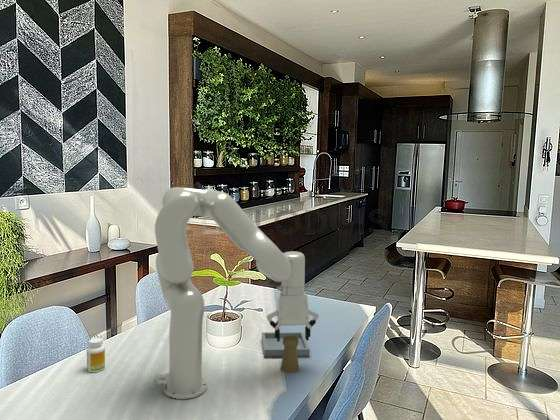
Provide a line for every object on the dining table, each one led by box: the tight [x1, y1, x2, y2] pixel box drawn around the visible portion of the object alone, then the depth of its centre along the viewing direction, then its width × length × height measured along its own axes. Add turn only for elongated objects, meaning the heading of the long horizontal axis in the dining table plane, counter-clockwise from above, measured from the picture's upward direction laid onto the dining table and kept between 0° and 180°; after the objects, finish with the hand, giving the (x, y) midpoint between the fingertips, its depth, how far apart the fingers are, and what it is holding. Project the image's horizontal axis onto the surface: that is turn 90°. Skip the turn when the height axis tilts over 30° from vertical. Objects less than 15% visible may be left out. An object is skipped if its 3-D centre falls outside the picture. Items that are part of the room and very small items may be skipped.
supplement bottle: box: [86, 337, 106, 373], centre depth 143 cm, size 5×5×10 cm
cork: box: [280, 335, 300, 374], centre depth 148 cm, size 6×6×11 cm
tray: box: [261, 331, 311, 359], centre depth 164 cm, size 16×16×3 cm
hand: (292, 339), depth 148 cm, fingers open, 9 cm apart
